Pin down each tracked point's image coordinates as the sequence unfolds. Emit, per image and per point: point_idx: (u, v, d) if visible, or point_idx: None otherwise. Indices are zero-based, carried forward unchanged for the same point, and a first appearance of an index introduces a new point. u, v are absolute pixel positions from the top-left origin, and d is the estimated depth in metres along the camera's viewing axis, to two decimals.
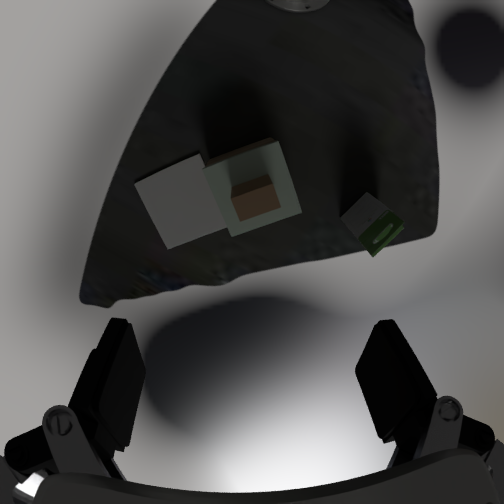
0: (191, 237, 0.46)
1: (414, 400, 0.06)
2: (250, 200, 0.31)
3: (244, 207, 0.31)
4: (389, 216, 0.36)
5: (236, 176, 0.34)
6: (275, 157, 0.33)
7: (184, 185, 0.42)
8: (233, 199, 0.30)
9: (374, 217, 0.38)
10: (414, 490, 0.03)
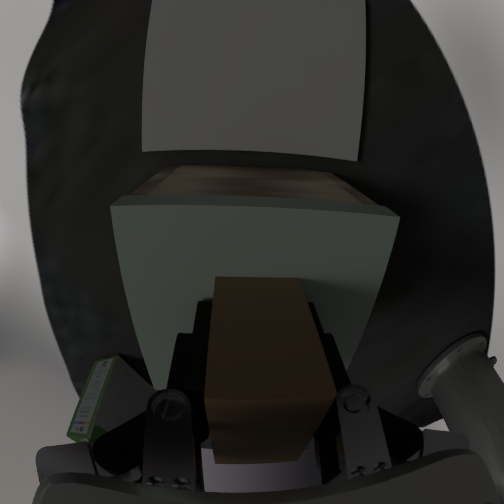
0: (154, 40, 0.11)
1: None
2: (284, 432, 0.06)
3: (268, 419, 0.06)
4: None
5: (321, 301, 0.10)
6: None
7: (303, 83, 0.13)
8: (326, 401, 0.06)
9: None
10: (414, 490, 0.03)
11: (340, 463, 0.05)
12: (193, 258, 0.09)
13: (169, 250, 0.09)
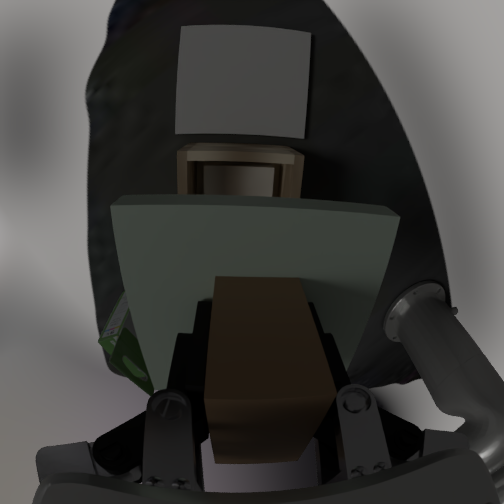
0: (182, 68, 0.22)
1: None
2: (284, 432, 0.06)
3: (267, 419, 0.06)
4: None
5: (321, 301, 0.10)
6: None
7: (269, 94, 0.24)
8: (326, 401, 0.06)
9: None
10: (414, 490, 0.03)
11: (340, 463, 0.05)
12: (193, 258, 0.09)
13: (169, 250, 0.09)
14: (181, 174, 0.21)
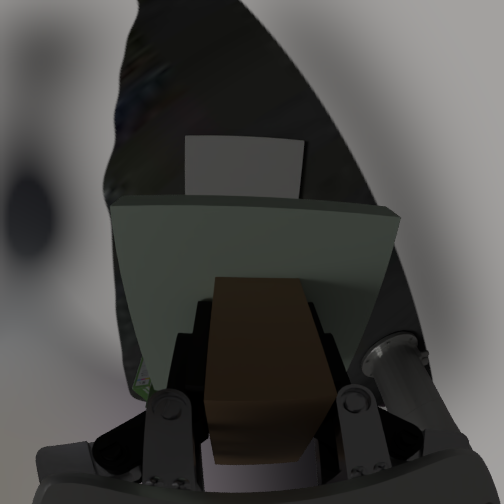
0: (189, 179, 0.30)
1: None
2: (284, 433, 0.06)
3: (268, 420, 0.06)
4: None
5: (321, 301, 0.10)
6: None
7: None
8: (327, 402, 0.06)
9: None
10: (414, 490, 0.03)
11: (340, 463, 0.05)
12: (193, 258, 0.09)
13: (169, 250, 0.09)
14: None
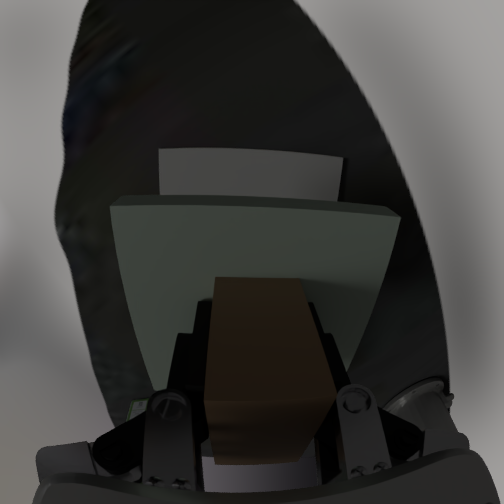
0: None
1: None
2: (284, 433, 0.06)
3: (268, 421, 0.06)
4: None
5: (321, 302, 0.10)
6: None
7: None
8: (327, 402, 0.06)
9: None
10: (414, 490, 0.03)
11: (340, 463, 0.05)
12: (193, 258, 0.09)
13: (169, 250, 0.09)
14: None
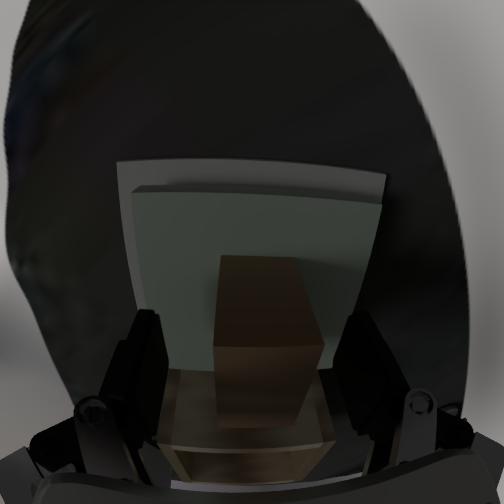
0: (135, 256, 0.13)
1: (383, 391, 0.07)
2: (281, 387, 0.08)
3: (266, 370, 0.07)
4: None
5: (314, 279, 0.12)
6: None
7: None
8: (316, 352, 0.07)
9: None
10: (414, 490, 0.03)
11: (391, 456, 0.05)
12: (202, 238, 0.11)
13: (181, 231, 0.11)
14: (169, 454, 0.12)
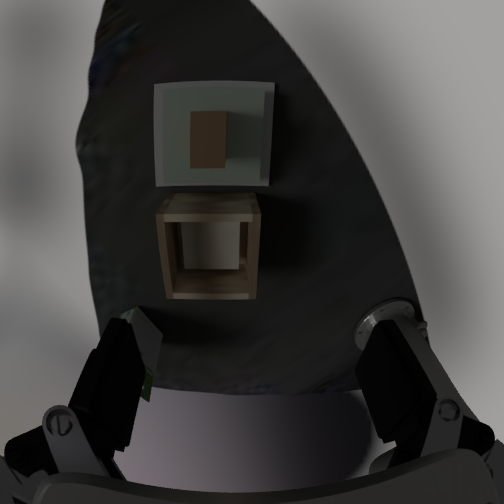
0: (158, 126, 0.27)
1: (414, 400, 0.06)
2: (214, 133, 0.21)
3: (208, 123, 0.21)
4: (149, 379, 0.33)
5: (238, 122, 0.25)
6: (242, 174, 0.28)
7: None
8: (224, 114, 0.20)
9: (144, 359, 0.34)
10: (414, 490, 0.03)
11: (414, 458, 0.05)
12: (190, 105, 0.24)
13: (182, 103, 0.24)
14: (160, 232, 0.26)
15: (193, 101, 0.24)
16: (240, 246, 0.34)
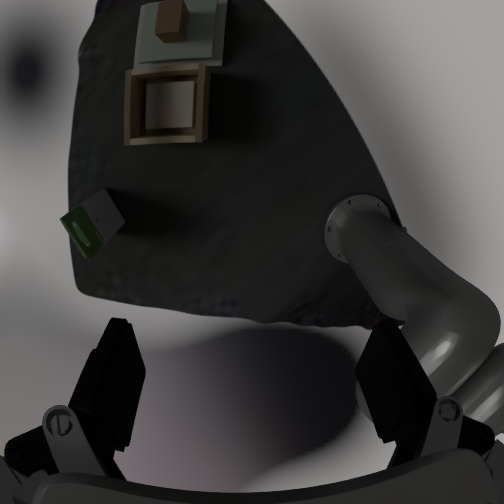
0: (140, 30, 0.27)
1: (414, 400, 0.06)
2: (173, 12, 0.21)
3: (169, 6, 0.21)
4: (97, 243, 0.33)
5: (196, 18, 0.26)
6: (198, 51, 0.28)
7: None
8: (181, 1, 0.21)
9: (98, 226, 0.34)
10: (414, 490, 0.03)
11: (414, 458, 0.05)
12: None
13: (158, 10, 0.24)
14: (127, 84, 0.26)
15: None
16: None
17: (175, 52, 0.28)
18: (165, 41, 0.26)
